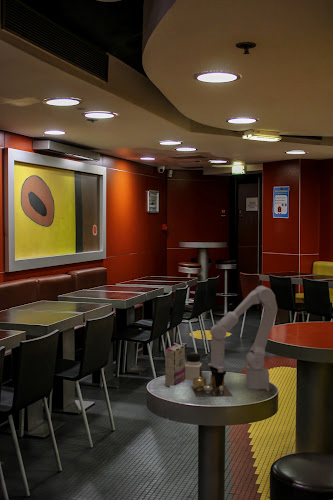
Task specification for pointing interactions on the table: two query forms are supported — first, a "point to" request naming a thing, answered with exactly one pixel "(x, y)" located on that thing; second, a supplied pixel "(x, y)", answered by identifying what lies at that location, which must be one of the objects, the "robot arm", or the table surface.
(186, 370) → the medicine bottle
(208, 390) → the plate
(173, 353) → the candy bar box
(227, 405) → the table surface
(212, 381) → the gear
